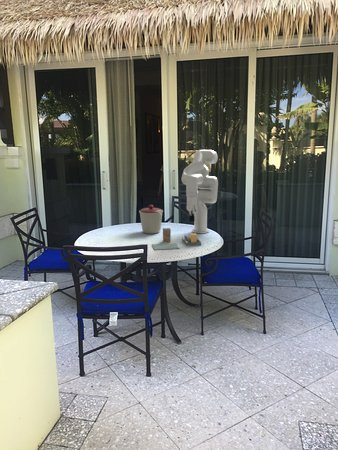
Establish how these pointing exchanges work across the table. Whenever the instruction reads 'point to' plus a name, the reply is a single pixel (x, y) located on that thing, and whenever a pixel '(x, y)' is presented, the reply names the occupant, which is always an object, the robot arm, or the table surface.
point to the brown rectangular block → (166, 234)
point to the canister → (151, 219)
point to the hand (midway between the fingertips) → (192, 221)
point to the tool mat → (165, 246)
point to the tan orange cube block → (193, 237)
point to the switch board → (188, 241)
